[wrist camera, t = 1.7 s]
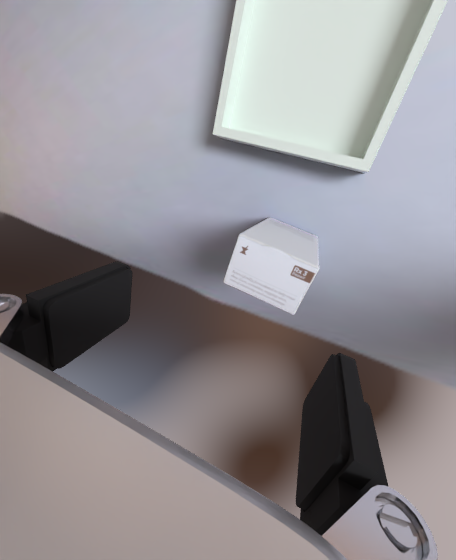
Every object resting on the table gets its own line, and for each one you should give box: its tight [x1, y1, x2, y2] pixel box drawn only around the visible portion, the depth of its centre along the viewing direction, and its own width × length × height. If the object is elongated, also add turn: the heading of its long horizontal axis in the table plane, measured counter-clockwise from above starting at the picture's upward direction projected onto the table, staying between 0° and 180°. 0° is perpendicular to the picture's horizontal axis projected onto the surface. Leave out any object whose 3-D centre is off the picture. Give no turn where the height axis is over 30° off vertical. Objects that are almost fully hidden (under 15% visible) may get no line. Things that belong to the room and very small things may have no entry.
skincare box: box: [223, 217, 319, 315], centre depth 22 cm, size 6×4×12 cm
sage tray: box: [213, 0, 448, 173], centre depth 20 cm, size 15×15×2 cm
